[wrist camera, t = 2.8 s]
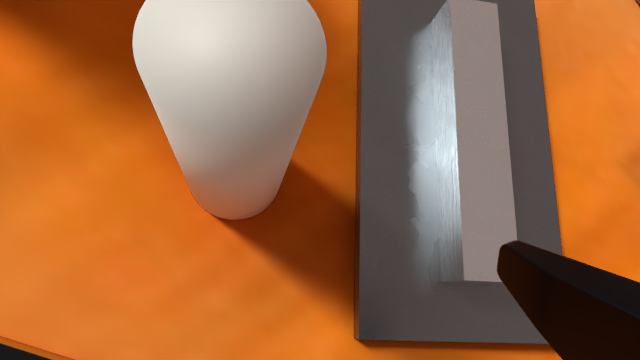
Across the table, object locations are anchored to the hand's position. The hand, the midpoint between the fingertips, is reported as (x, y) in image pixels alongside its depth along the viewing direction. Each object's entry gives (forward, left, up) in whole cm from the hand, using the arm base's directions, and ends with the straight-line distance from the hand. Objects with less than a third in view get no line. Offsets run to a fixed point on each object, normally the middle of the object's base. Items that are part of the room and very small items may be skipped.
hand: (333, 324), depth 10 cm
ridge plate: (-4, -13, -13) cm, 19 cm away
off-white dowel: (+6, -5, -13) cm, 15 cm away
